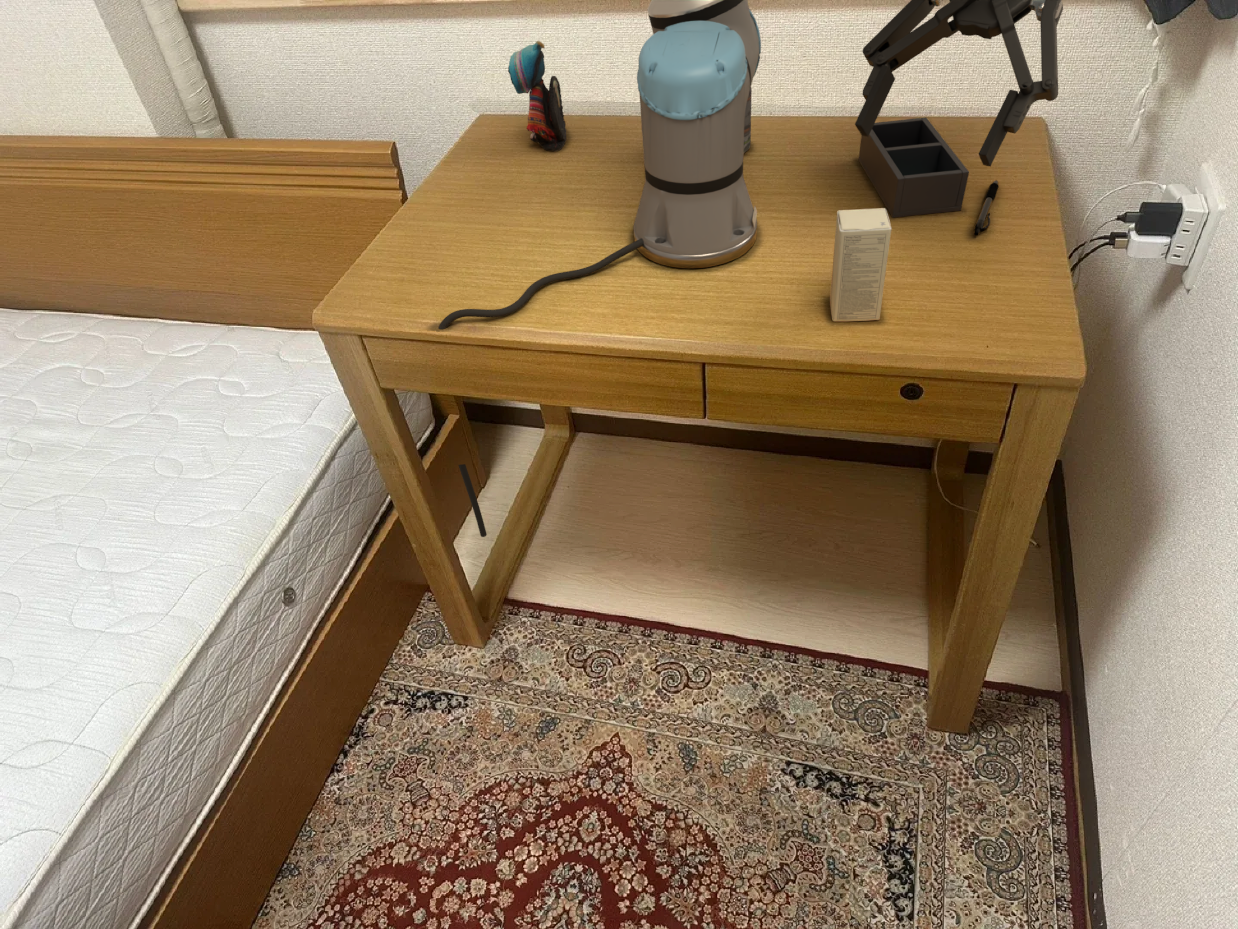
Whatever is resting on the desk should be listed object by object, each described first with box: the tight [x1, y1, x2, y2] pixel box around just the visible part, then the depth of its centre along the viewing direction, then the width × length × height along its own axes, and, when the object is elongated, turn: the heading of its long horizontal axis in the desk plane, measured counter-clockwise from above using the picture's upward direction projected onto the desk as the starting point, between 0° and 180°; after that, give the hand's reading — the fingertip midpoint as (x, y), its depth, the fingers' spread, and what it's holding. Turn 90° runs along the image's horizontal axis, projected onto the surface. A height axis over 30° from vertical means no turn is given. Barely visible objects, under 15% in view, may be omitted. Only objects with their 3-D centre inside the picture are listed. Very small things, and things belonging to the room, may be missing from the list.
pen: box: [973, 179, 999, 237], centre depth 105 cm, size 14×2×1 cm, turn 154°
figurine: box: [507, 40, 567, 152], centre depth 126 cm, size 10×7×15 cm
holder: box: [858, 116, 970, 218], centre depth 110 cm, size 9×16×5 cm, turn 3°
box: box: [829, 207, 892, 322], centre depth 89 cm, size 5×4×11 cm
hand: (920, 145), depth 88 cm, fingers open, 13 cm apart
